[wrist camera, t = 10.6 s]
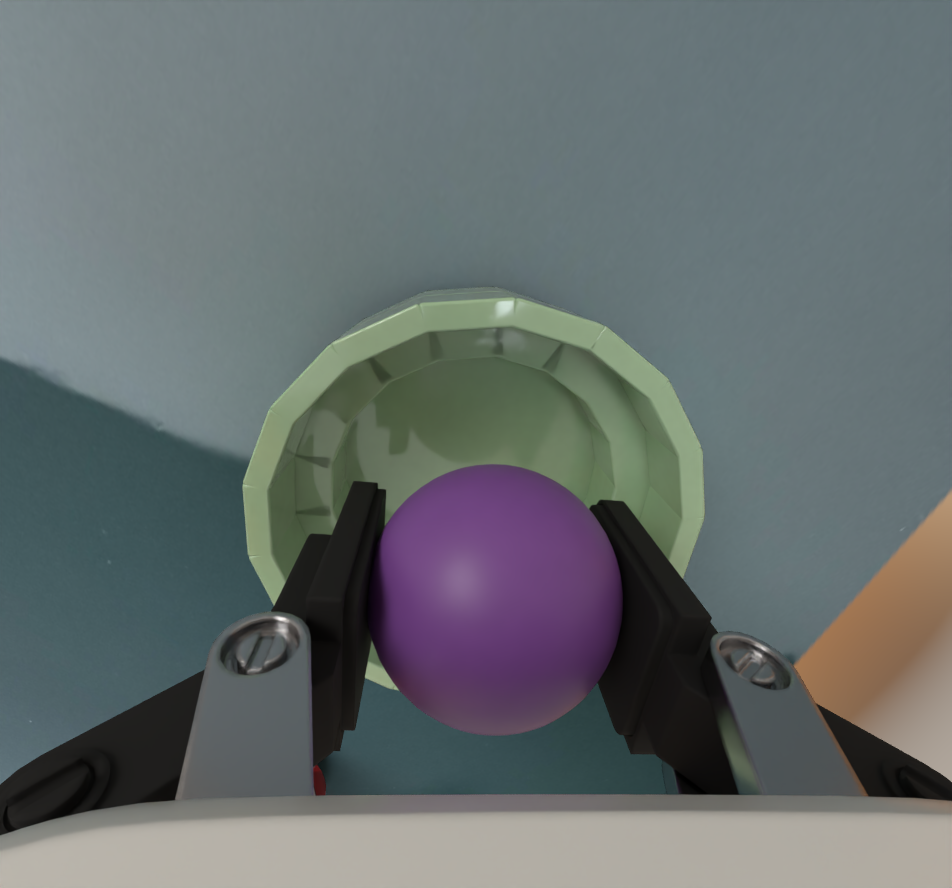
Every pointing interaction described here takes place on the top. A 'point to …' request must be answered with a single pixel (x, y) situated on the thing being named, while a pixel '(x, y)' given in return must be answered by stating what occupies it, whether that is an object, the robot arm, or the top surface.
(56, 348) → the top surface
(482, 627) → the ball
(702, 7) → the top surface
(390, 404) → the bowl
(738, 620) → the top surface
